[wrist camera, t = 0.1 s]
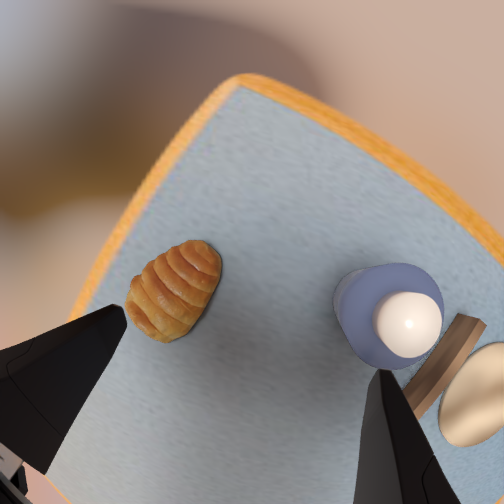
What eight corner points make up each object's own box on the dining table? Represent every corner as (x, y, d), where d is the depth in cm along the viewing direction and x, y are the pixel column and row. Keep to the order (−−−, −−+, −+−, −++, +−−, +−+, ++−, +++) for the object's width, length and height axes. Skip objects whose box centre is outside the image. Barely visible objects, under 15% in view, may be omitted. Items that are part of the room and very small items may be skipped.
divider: (381, 427, 20) (389, 449, 16) (373, 422, 21) (381, 444, 17) (464, 319, 20) (486, 325, 16) (457, 313, 20) (479, 318, 16)
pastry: (191, 224, 26) (172, 215, 22) (243, 276, 25) (231, 276, 21) (132, 296, 27) (107, 297, 23) (175, 348, 25) (155, 357, 22)
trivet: (521, 411, 16) (524, 413, 16) (440, 459, 18) (443, 463, 17) (518, 323, 18) (523, 324, 17) (431, 373, 20) (435, 376, 19)
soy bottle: (401, 319, 21) (474, 357, 9) (343, 341, 22) (367, 405, 10) (383, 259, 22) (448, 241, 10) (324, 281, 23) (334, 286, 11)
